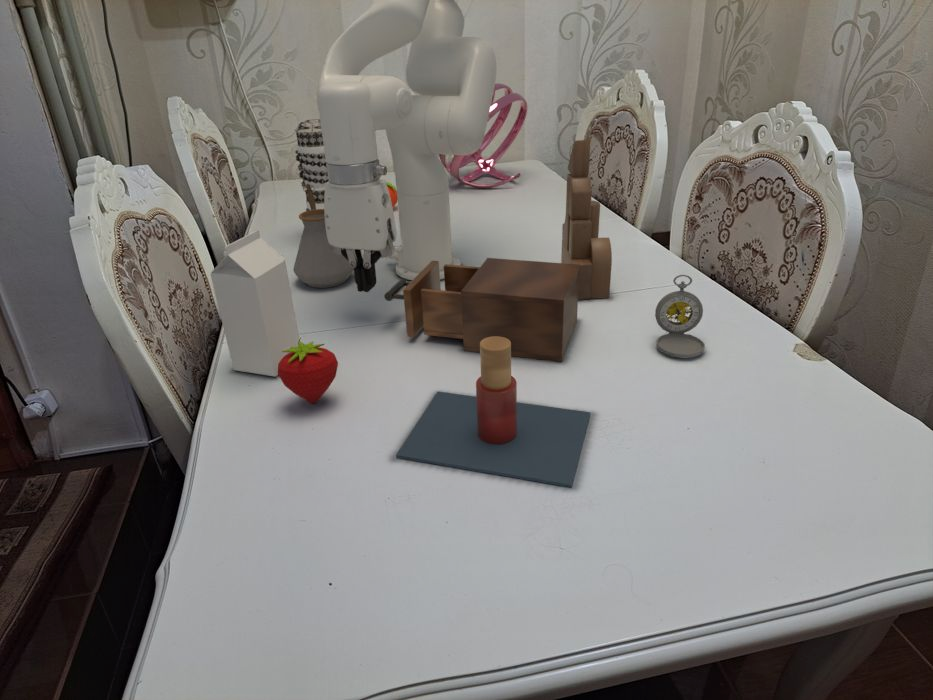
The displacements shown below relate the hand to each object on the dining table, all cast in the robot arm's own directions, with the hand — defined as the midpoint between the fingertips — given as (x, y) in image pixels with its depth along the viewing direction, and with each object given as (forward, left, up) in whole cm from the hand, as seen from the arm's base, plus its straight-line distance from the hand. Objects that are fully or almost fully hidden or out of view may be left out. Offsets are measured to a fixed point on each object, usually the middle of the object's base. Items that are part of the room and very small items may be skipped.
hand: (366, 288), depth 103 cm
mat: (+29, -26, -6) cm, 39 cm away
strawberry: (+4, -25, -6) cm, 26 cm away
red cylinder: (+29, -26, -5) cm, 39 cm away
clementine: (-23, +60, -6) cm, 65 cm away
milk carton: (-8, -17, -6) cm, 20 cm away
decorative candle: (-27, +37, -6) cm, 47 cm away
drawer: (+13, 0, -5) cm, 14 cm away
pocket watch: (+49, +2, -6) cm, 49 cm away
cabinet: (+26, 0, -6) cm, 26 cm away
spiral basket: (-7, +91, -6) cm, 92 cm away
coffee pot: (-18, +18, -6) cm, 27 cm away
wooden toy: (+32, +23, -6) cm, 40 cm away
